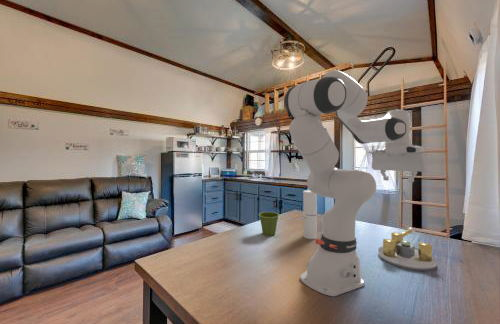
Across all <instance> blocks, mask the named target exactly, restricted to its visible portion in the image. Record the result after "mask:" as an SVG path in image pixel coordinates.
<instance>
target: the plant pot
mask: <svg viewBox="0 0 500 324" xmlns="http://www.w3.org/2000/svg"><path fill="white" fill-rule="evenodd" d="M258 217H259V220H260V225H261V231H262V234H263V236H267V237H272V236H274V235H276V233H277V225H278V220H279V217H280V214H279V213H278V212H273V211H262V212H260V213H258Z"/></svg>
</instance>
